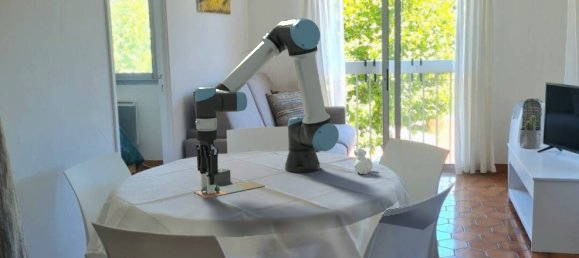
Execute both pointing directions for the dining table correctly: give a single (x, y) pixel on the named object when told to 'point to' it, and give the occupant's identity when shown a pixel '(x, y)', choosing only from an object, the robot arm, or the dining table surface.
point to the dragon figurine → (206, 189)
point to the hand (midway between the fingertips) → (207, 191)
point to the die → (222, 176)
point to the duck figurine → (362, 162)
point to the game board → (231, 189)
